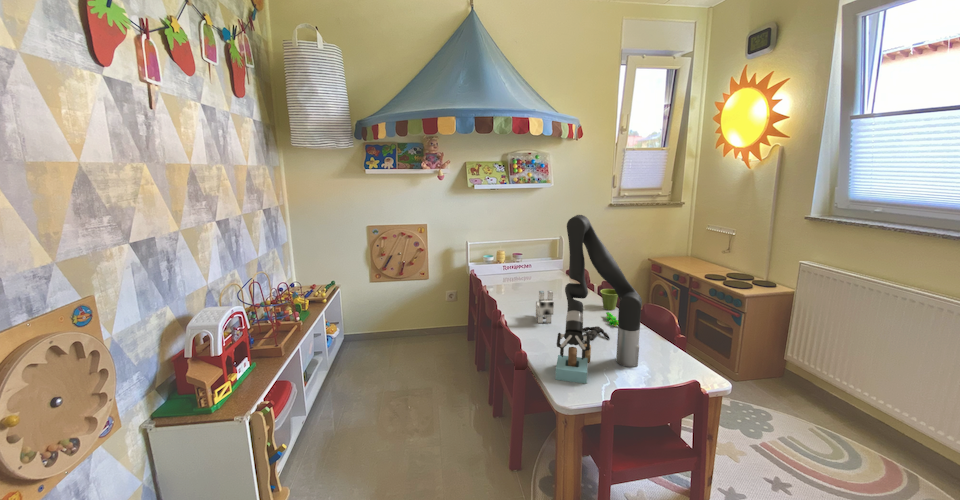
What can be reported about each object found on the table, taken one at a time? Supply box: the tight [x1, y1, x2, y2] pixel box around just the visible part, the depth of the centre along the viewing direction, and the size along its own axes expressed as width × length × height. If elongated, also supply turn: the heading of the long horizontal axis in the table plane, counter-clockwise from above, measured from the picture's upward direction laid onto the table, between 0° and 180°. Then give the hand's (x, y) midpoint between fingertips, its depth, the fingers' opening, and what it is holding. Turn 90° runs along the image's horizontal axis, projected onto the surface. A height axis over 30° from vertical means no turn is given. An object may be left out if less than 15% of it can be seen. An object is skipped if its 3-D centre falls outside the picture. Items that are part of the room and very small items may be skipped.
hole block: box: [555, 354, 589, 384], centre depth 171 cm, size 13×13×5 cm
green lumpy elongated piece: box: [605, 311, 618, 328], centre depth 226 cm, size 7×18×4 cm, turn 0°
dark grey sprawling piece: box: [581, 325, 611, 344], centre depth 208 cm, size 18×4×20 cm
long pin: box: [567, 346, 578, 367], centre depth 170 cm, size 4×4×12 cm
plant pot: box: [599, 288, 619, 311], centre depth 248 cm, size 12×12×11 cm
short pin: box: [583, 343, 592, 364], centre depth 181 cm, size 4×4×8 cm
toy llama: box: [535, 290, 555, 325], centre depth 228 cm, size 8×18×20 cm, turn 1°
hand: (572, 357), depth 169 cm, fingers open, 8 cm apart
